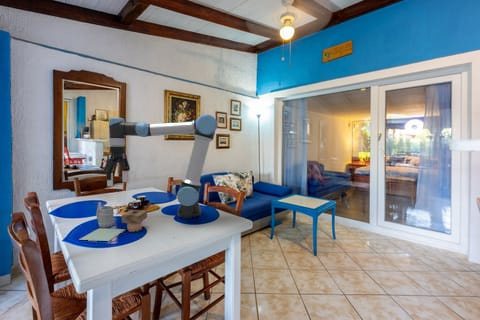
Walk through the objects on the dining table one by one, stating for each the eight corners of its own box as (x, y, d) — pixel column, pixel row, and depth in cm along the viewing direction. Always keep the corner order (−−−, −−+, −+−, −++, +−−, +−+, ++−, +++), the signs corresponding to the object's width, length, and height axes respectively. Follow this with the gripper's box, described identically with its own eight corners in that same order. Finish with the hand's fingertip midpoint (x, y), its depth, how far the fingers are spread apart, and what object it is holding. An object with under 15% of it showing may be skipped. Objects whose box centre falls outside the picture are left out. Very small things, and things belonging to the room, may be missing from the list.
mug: (104, 228, 117) (104, 206, 117) (90, 224, 122) (90, 203, 121) (117, 224, 124) (117, 203, 124) (103, 220, 129) (103, 200, 128)
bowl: (144, 227, 121) (144, 218, 121) (138, 232, 114) (138, 222, 114) (131, 226, 121) (131, 217, 121) (124, 231, 114) (124, 222, 114)
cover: (147, 217, 122) (147, 209, 121) (139, 223, 113) (139, 214, 112) (130, 217, 122) (130, 208, 122) (121, 222, 113) (121, 213, 113)
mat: (125, 230, 116) (125, 229, 116) (108, 242, 102) (108, 240, 102) (99, 229, 116) (99, 228, 116) (79, 240, 102) (79, 239, 102)
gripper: (123, 145, 135) (124, 180, 137) (94, 145, 111) (95, 187, 112) (135, 146, 135) (136, 180, 136) (109, 146, 110) (109, 188, 111)
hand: (117, 184), depth 124 cm, fingers open, 13 cm apart
